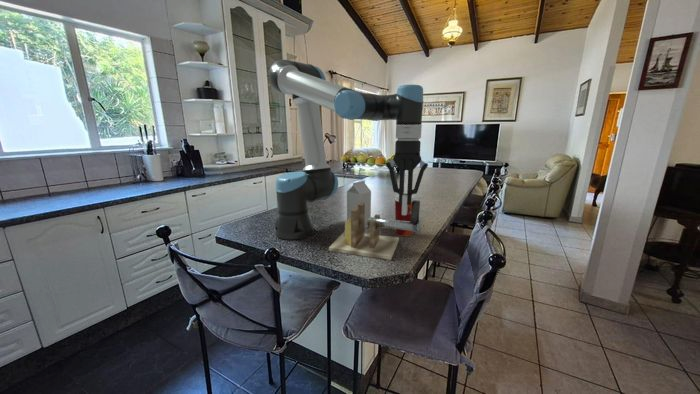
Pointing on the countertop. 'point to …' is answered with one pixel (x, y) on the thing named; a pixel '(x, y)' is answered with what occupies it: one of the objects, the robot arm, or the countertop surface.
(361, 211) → the wooden stand with blocks
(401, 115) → the robot arm
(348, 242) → the spacer
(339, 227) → the countertop surface
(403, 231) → the coffee cup
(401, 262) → the countertop surface
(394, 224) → the silver bent bar
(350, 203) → the milk carton
